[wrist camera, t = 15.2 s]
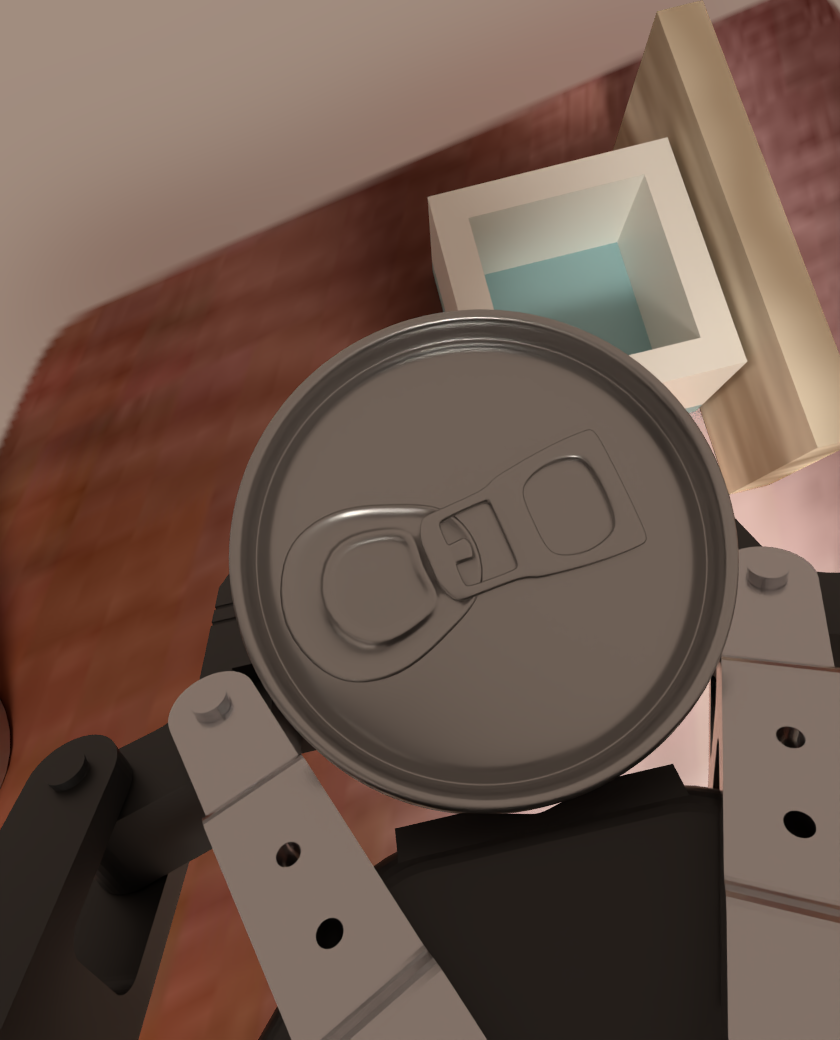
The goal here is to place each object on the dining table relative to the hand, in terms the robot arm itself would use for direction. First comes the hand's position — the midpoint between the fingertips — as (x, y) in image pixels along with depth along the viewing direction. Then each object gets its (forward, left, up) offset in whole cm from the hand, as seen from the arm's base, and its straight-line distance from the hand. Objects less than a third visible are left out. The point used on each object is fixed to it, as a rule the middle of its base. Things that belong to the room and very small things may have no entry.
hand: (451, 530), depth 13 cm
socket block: (+9, +12, -19) cm, 24 cm away
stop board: (+15, +12, -19) cm, 27 cm away
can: (0, -1, -6) cm, 6 cm away
